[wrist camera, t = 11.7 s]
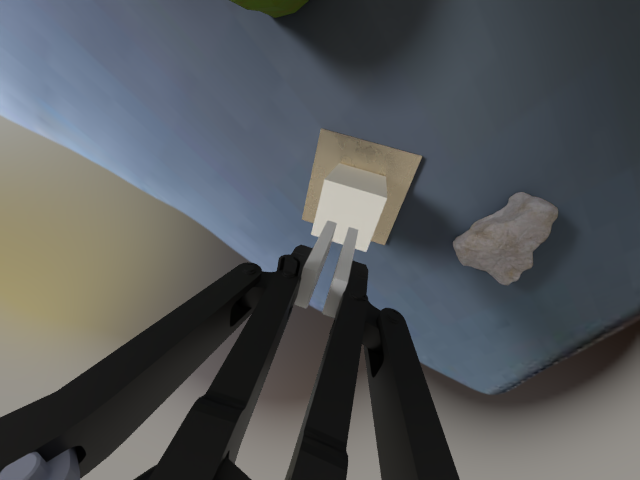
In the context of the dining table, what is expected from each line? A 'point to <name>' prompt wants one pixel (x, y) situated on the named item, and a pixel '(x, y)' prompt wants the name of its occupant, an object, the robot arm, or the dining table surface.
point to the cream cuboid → (351, 203)
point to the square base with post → (368, 158)
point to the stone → (507, 237)
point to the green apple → (272, 6)
